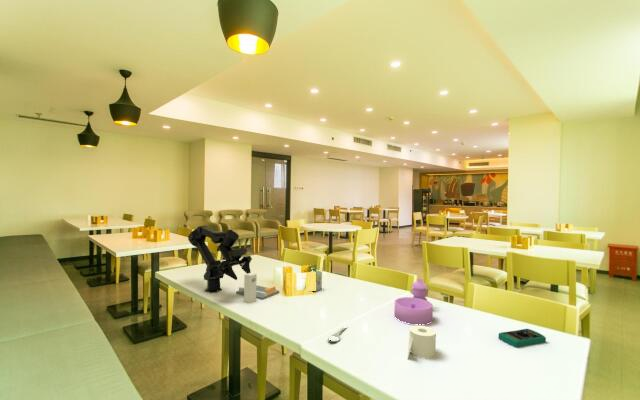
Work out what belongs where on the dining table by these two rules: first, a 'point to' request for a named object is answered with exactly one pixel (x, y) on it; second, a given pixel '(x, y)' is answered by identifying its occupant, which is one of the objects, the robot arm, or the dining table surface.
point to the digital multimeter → (522, 337)
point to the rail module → (250, 287)
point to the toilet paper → (422, 341)
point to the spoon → (336, 335)
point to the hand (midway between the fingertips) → (243, 277)
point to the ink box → (317, 277)
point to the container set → (414, 306)
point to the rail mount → (261, 291)
